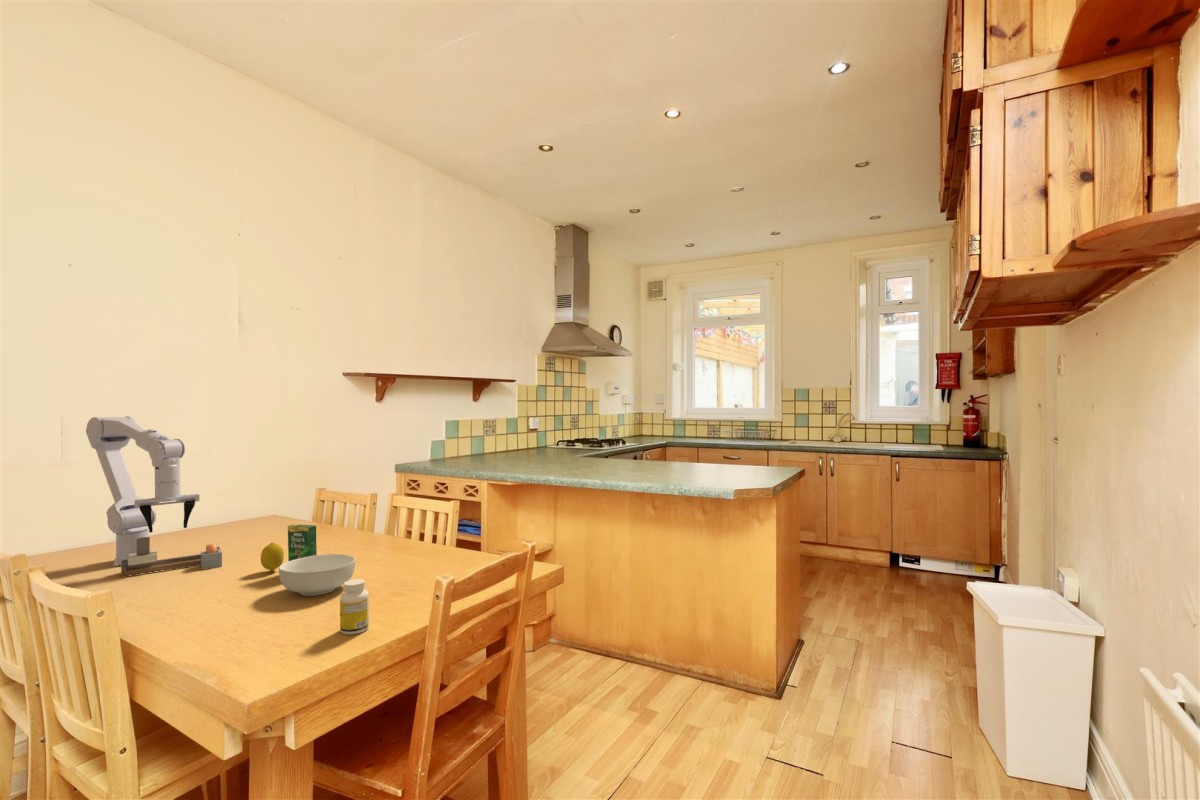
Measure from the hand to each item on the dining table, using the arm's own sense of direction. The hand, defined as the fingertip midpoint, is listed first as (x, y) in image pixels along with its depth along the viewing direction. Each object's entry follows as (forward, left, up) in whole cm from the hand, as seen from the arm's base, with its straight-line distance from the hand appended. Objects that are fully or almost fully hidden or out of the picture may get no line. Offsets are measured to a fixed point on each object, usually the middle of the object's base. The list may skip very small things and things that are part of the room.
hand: (168, 529), depth 157 cm
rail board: (+2, +1, -10) cm, 11 cm away
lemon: (+25, +22, -11) cm, 35 cm away
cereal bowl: (+50, +28, -11) cm, 58 cm away
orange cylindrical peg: (+8, +9, -8) cm, 15 cm away
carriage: (+2, -6, -8) cm, 10 cm away
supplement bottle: (+81, +28, -11) cm, 86 cm away
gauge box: (+8, +9, -10) cm, 16 cm away
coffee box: (+32, +28, -11) cm, 44 cm away
